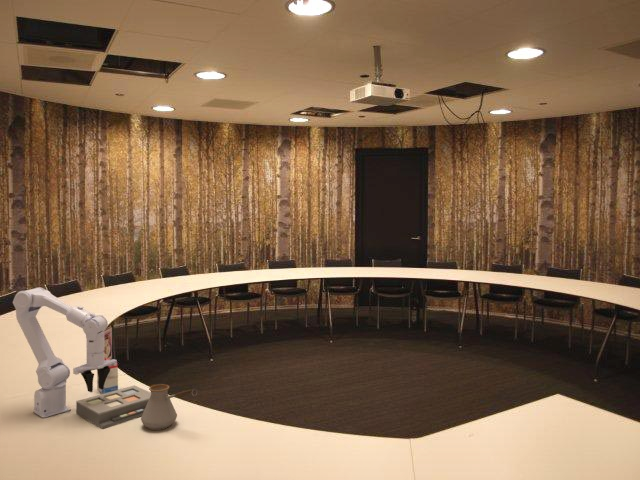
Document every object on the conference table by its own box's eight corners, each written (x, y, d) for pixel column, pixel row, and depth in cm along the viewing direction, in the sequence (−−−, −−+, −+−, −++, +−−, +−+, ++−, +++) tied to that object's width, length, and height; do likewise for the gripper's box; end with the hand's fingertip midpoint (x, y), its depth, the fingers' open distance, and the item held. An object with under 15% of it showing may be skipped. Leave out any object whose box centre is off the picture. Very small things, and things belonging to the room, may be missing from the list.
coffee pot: (133, 427, 167) (133, 382, 166) (159, 415, 177) (159, 373, 176) (182, 442, 157) (182, 395, 156) (207, 429, 167) (207, 384, 166)
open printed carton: (102, 365, 232) (102, 333, 231) (86, 365, 232) (86, 332, 231) (113, 358, 244) (113, 327, 243) (98, 357, 244) (98, 326, 243)
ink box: (118, 392, 198) (118, 355, 197) (105, 395, 195) (105, 358, 194) (108, 387, 204) (108, 351, 203) (96, 390, 200) (96, 353, 200)
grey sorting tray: (102, 428, 165) (102, 415, 165) (76, 413, 177) (76, 401, 177) (162, 409, 182) (162, 397, 182) (134, 396, 194) (134, 385, 194)
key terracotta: (128, 407, 178) (128, 402, 178) (122, 403, 181) (122, 399, 180) (140, 403, 181) (140, 399, 181) (133, 400, 184) (133, 396, 184)
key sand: (110, 404, 179) (110, 400, 179) (104, 401, 182) (104, 397, 182) (122, 401, 183) (122, 397, 183) (116, 398, 186) (116, 394, 186)
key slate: (127, 399, 184) (127, 395, 184) (121, 396, 187) (121, 392, 187) (138, 396, 188) (138, 392, 188) (132, 393, 191) (132, 389, 191)
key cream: (111, 412, 173) (111, 408, 173) (104, 408, 176) (104, 404, 176) (123, 408, 176) (123, 404, 176) (116, 405, 179) (116, 401, 179)
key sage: (92, 410, 174) (92, 405, 174) (86, 406, 177) (86, 402, 177) (104, 406, 178) (104, 402, 178) (98, 403, 181) (98, 399, 181)
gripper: (79, 358, 168) (80, 398, 169) (121, 349, 180) (121, 387, 180) (70, 353, 173) (70, 393, 174) (111, 345, 184) (111, 382, 185)
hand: (95, 389), depth 177 cm, fingers open, 3 cm apart
